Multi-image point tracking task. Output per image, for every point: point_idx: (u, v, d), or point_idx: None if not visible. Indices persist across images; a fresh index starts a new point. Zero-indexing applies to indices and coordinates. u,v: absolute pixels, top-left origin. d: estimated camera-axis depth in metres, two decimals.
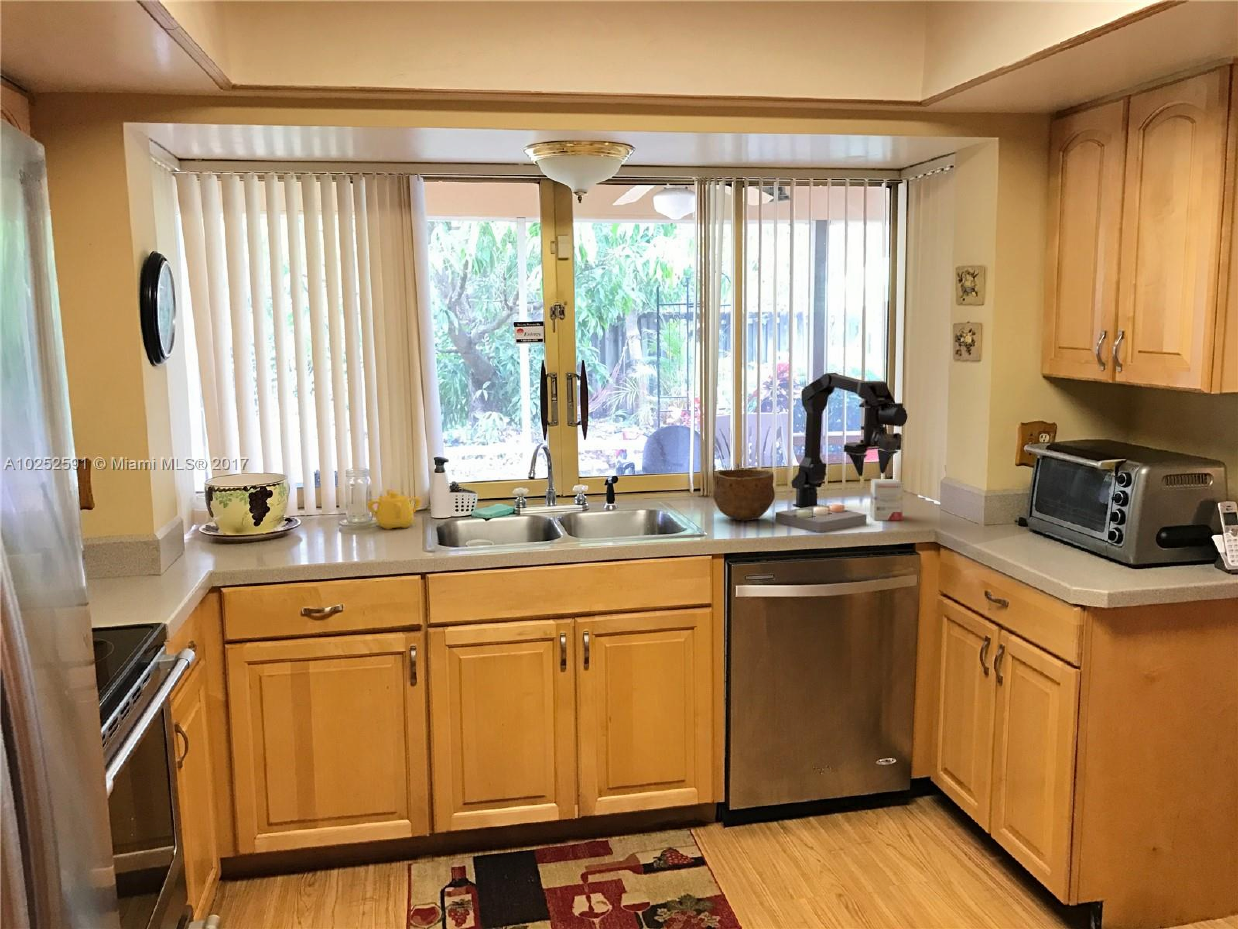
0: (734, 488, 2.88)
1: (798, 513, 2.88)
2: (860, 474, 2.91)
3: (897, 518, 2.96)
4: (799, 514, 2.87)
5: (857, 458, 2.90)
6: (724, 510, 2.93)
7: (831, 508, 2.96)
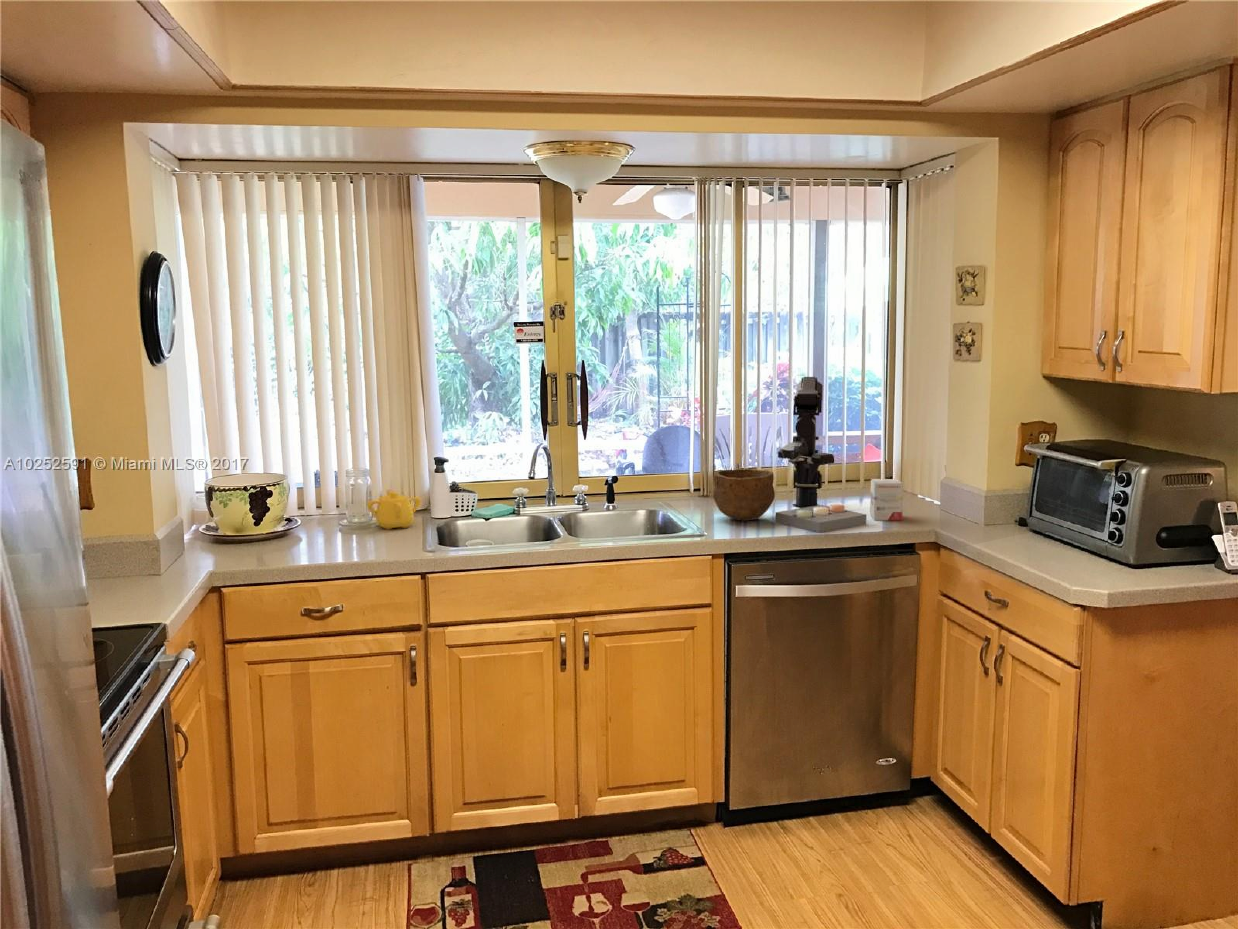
0: (734, 488, 2.88)
1: (798, 513, 2.88)
2: None
3: (897, 518, 2.96)
4: (799, 514, 2.87)
5: None
6: (724, 510, 2.93)
7: (831, 508, 2.96)
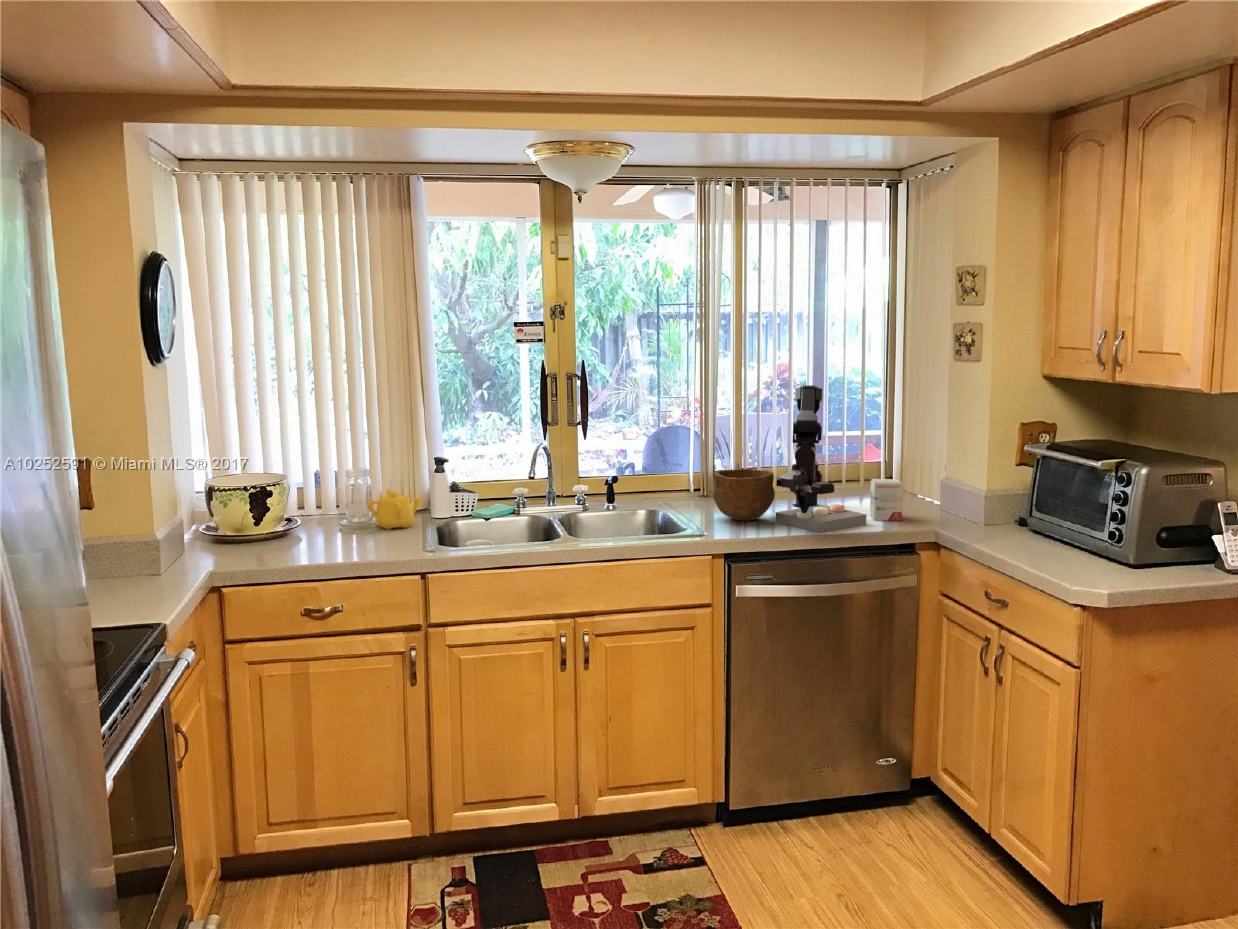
0: (734, 488, 2.88)
1: (798, 515, 2.88)
2: None
3: (897, 518, 2.96)
4: (799, 516, 2.87)
5: None
6: (724, 510, 2.93)
7: (831, 508, 2.96)
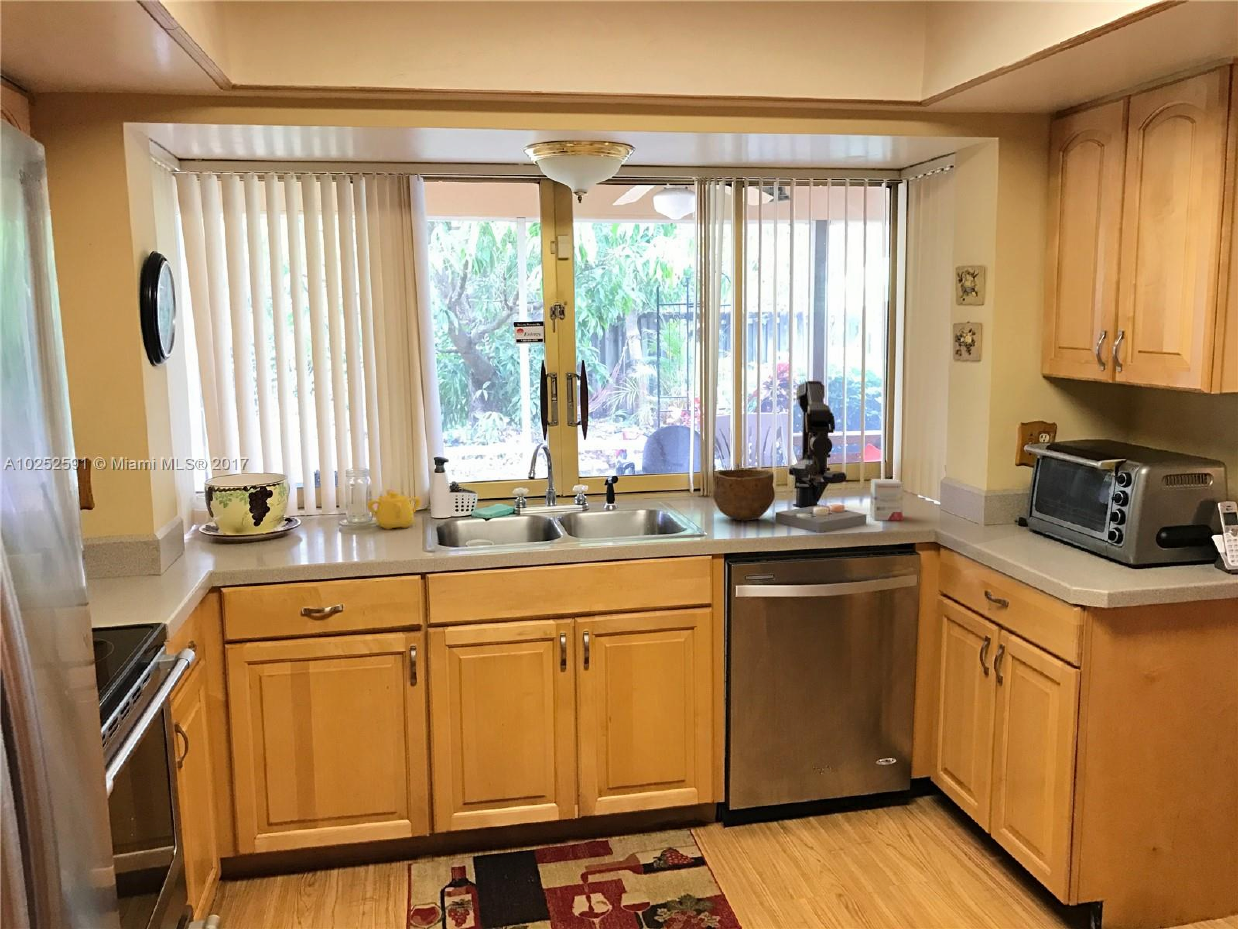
0: (734, 488, 2.88)
1: None
2: None
3: (897, 518, 2.96)
4: None
5: None
6: (724, 510, 2.93)
7: (831, 508, 2.96)
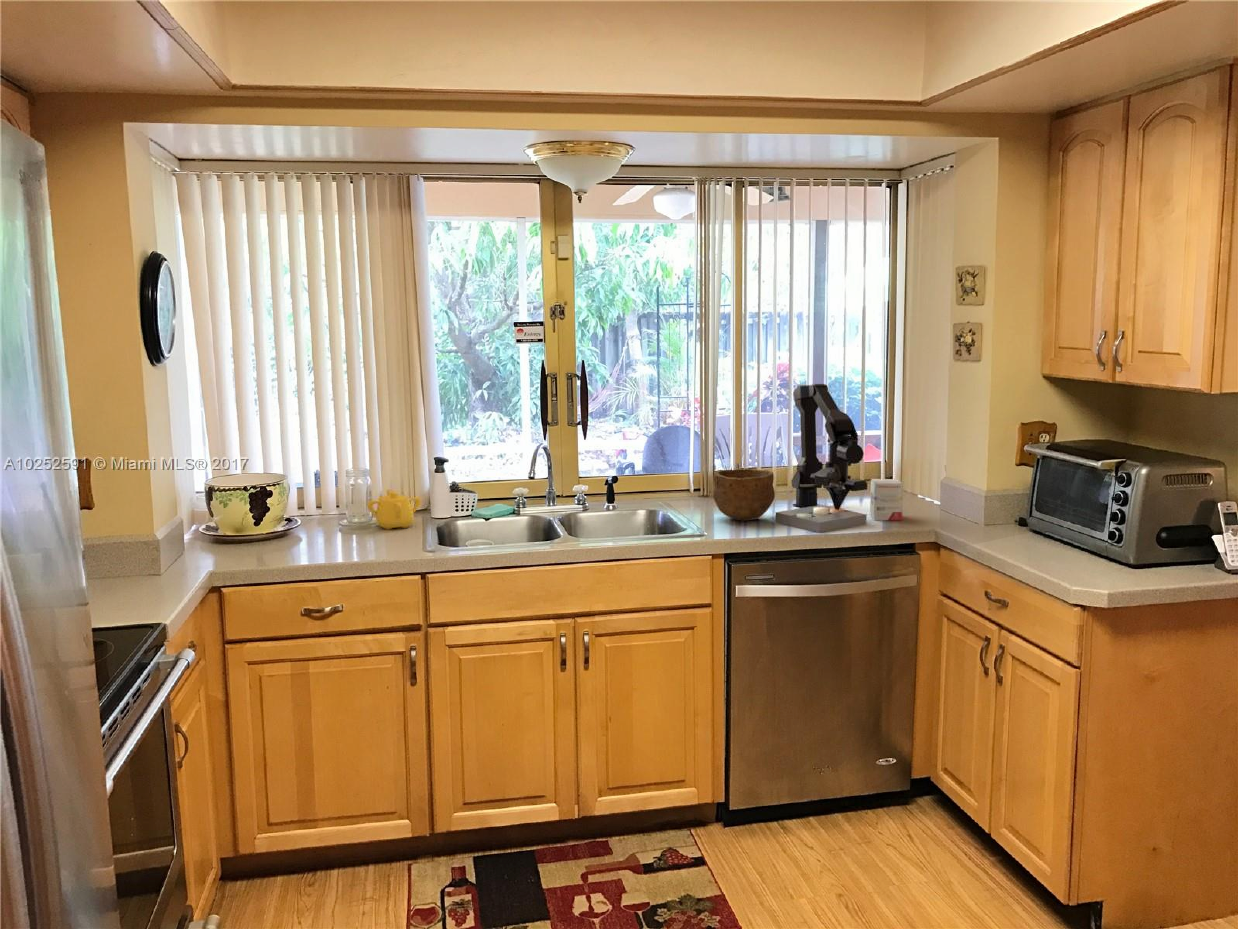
0: (734, 488, 2.88)
1: None
2: None
3: (897, 518, 2.96)
4: None
5: None
6: (724, 510, 2.93)
7: None
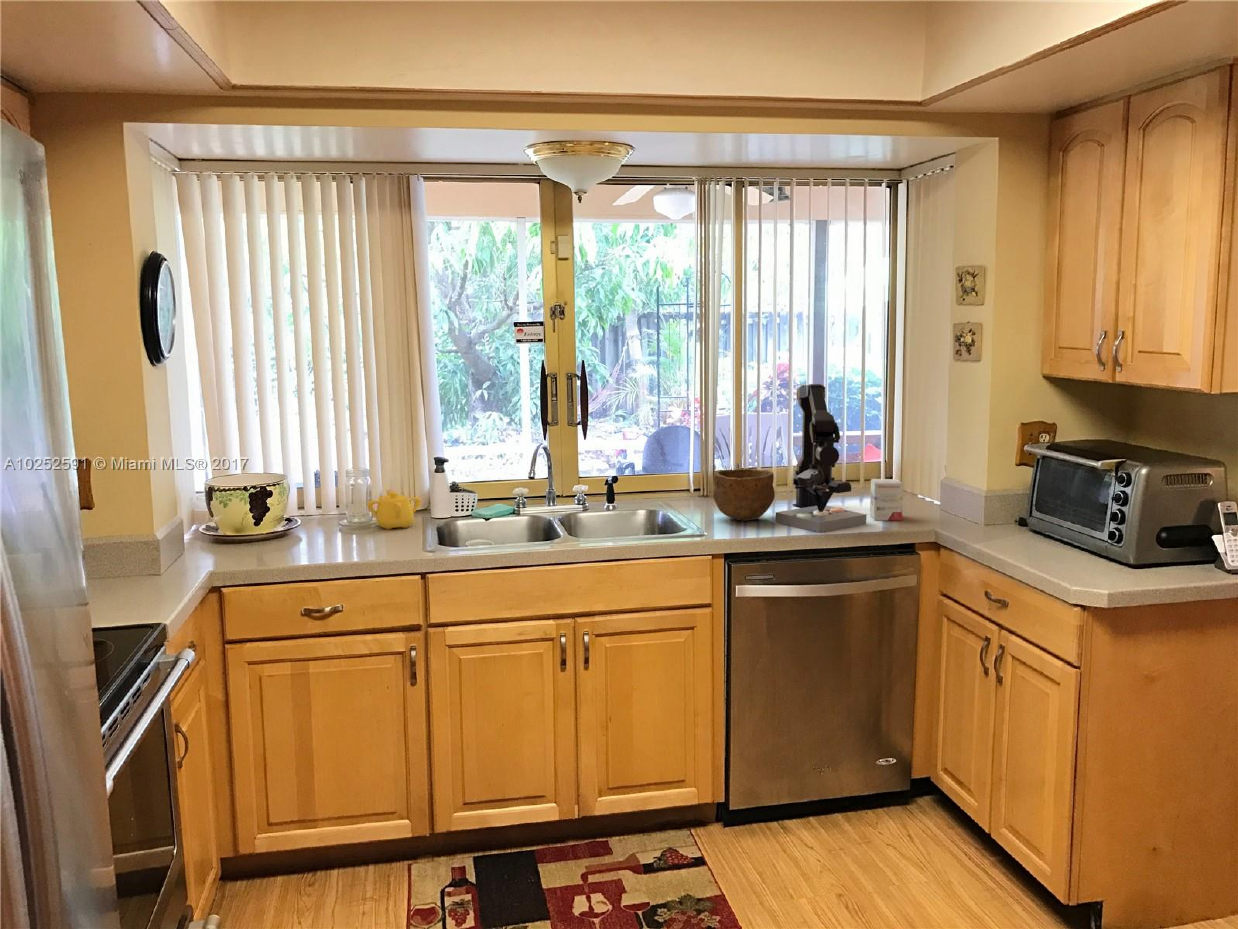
0: (734, 488, 2.88)
1: None
2: None
3: (897, 518, 2.96)
4: None
5: None
6: (724, 510, 2.93)
7: None
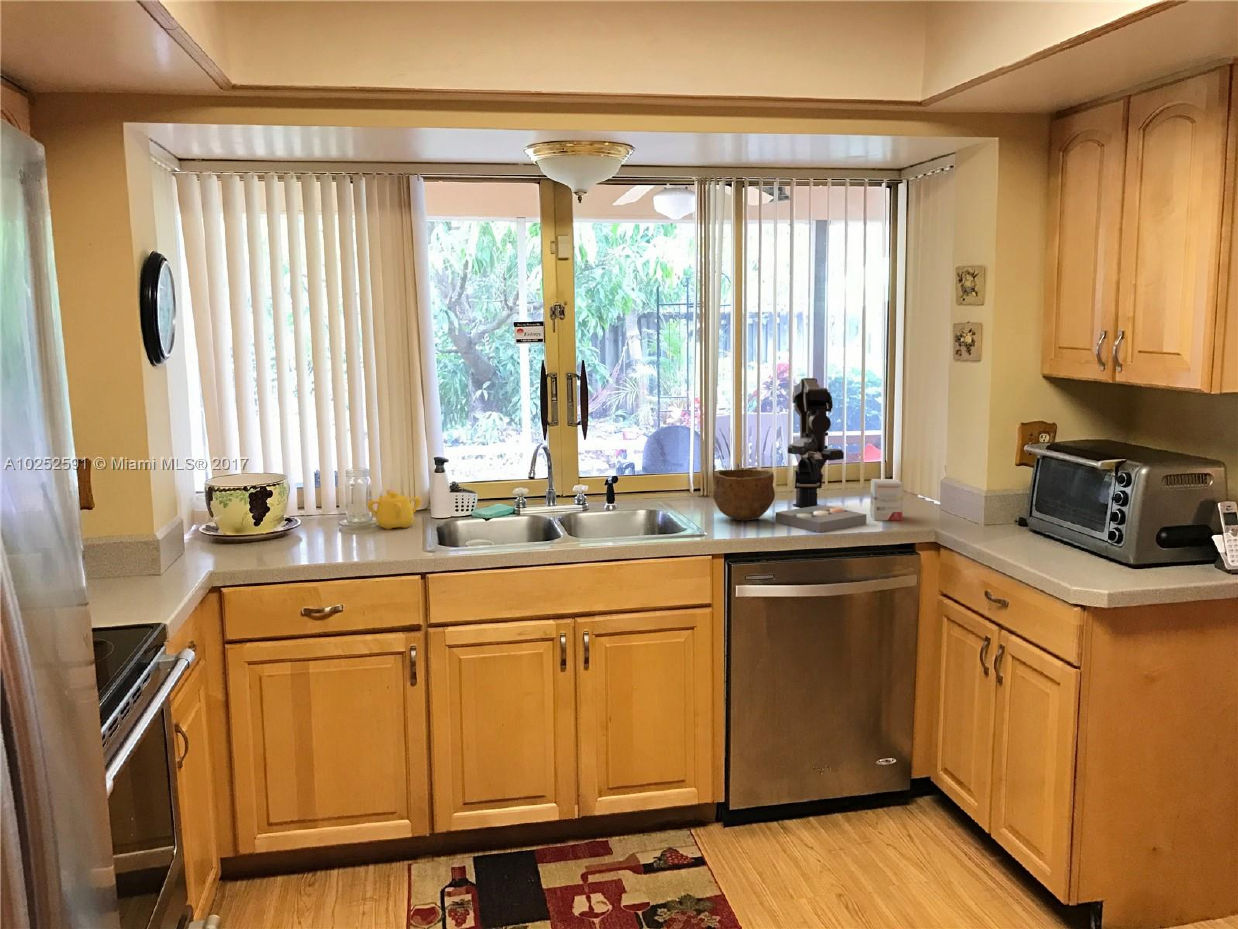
0: (734, 488, 2.88)
1: None
2: None
3: (897, 518, 2.96)
4: None
5: None
6: (724, 510, 2.93)
7: None
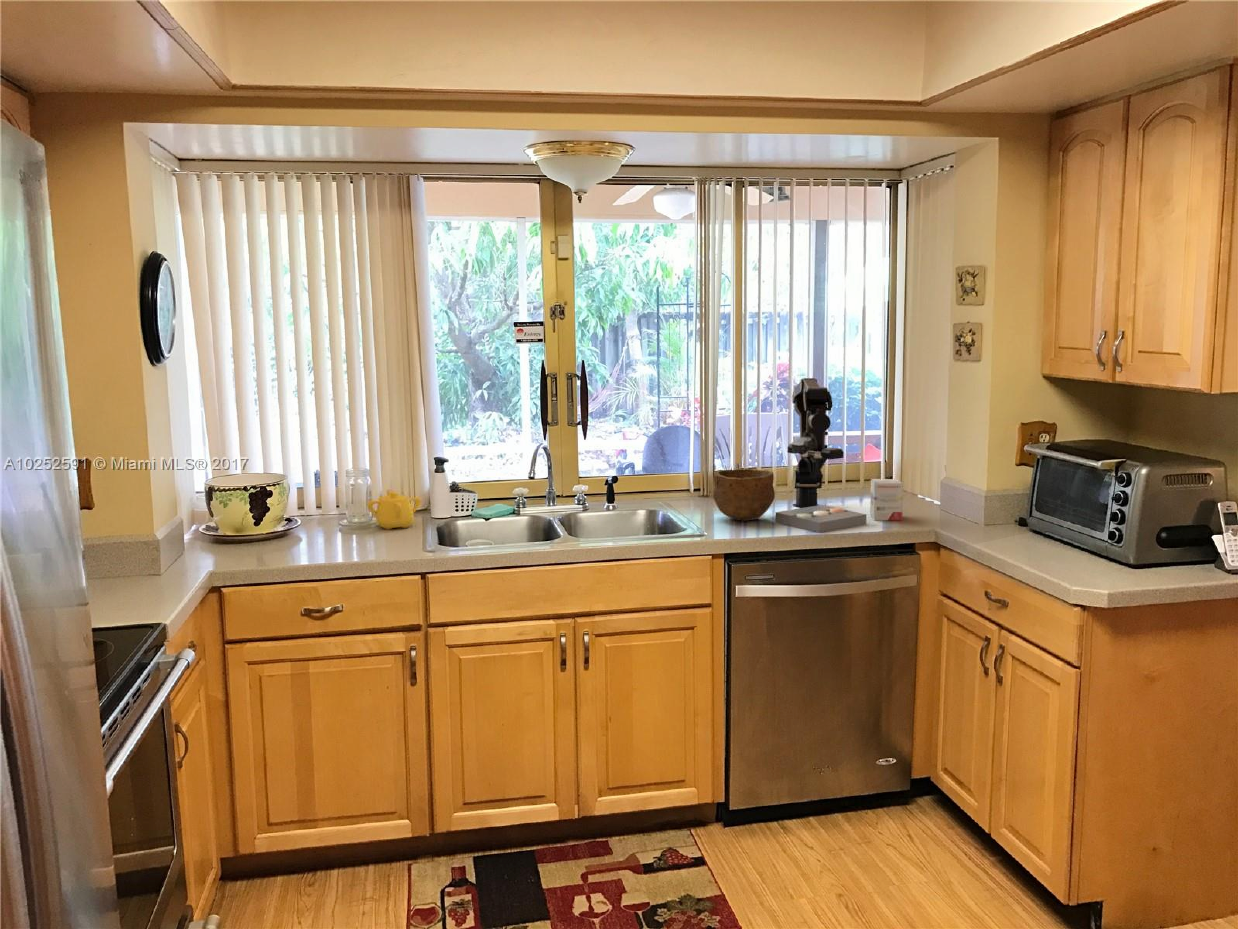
0: (734, 488, 2.88)
1: None
2: None
3: (897, 518, 2.96)
4: None
5: None
6: (724, 510, 2.93)
7: None
